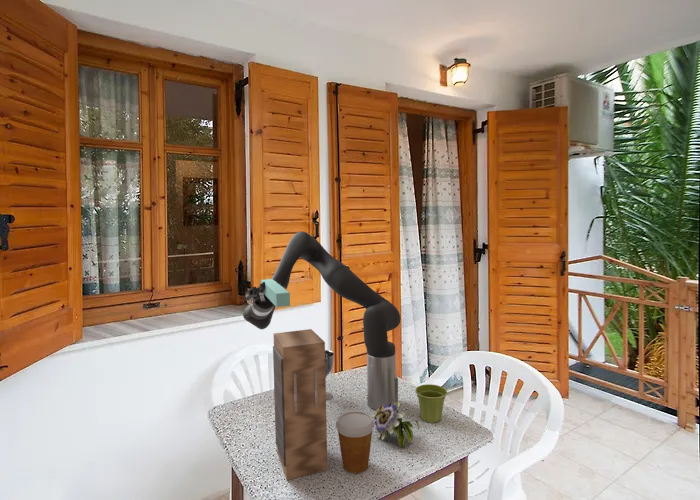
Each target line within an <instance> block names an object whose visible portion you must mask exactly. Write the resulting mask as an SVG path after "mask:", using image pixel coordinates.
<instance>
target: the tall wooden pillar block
mask: <svg viewBox="0 0 700 500" xmlns="http://www.w3.org/2000/svg"><path fill="white" fill-rule="evenodd" d="M325 350H326V342H325V340H323V338H321V337H320V336H319V335H318V333H316V332H315V331H314V330H313V329H312V328H308V329H300V330H291V331H284V332H282V331H281V332H275V333H273V346H272V360H273V361H272V362H273V363H272V364H273V365H272V366H273V390H274V391H273V394H274V395H273V397H274V423H275V424H274V426H275V427H274V428H275V445H276V453H277V456H278V459H279V462H280V465H281V467H282V472H283V473H284V476H285V478H286V480H287V481H290V480H293V479H298V478H301V477H305V476H309V475H313V474H317V473H321V472H325V471H328V437H327V436H328V434H327V433H328V432H327V431H328V429H327V427H328V426H327V401H326V392H327V385H326V383H327V382H326V379H327V377H326V373H325Z"/></svg>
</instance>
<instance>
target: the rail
mask: <svg viewBox="0 0 700 500" xmlns="http://www.w3.org/2000/svg"><path fill="white" fill-rule="evenodd" d="M262 282H265V291H264V292H263V293H264V294H265V295H266V297H267V298H268V299H269V300H270V301H271V302H272V303H273V304H274V305H275V306H276V307H275V308H282V307H283V308H284V307H291V293H290V291H288V289H287V290H286V289H284V288H283V287H282V286H281V285H279V284H278V283H277V282H275V281H274V280H273V279H271V278H269V279H268V278H267V279H260V284H262Z"/></svg>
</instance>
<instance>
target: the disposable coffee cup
mask: <svg viewBox="0 0 700 500" xmlns="http://www.w3.org/2000/svg"><path fill="white" fill-rule="evenodd" d="M335 428H336V431H337V434H338V441H339V449H340V456H341V461H342V469H344V471H346V472H347V473H350V474H355V475H356V474H361V473H363V472H365V471H366V470H368V468H369V462H370V453H371V444H372V437H373V430H374V428H375V421H374V420H373V417H372V416H371V415H370V414H369V413H367V412H365V411H361V410H352V411H351V410H350V411H349V410H348V411H346V412H343V413H341V414H340V415H339V416H338V417H337V419H336V422H335Z"/></svg>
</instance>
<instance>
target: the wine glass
mask: <svg viewBox="0 0 700 500" xmlns="http://www.w3.org/2000/svg"><path fill="white" fill-rule="evenodd" d="M334 353H335V352H333V351H332V350H328V349H327V350H326V349H325V373H326V378H327V377H328V376H329V375H330V374H331V372H332V370H333V367H334V364H335V363H334V361H335V355H334ZM333 398H334V394H333V393H331V392H330V391H329V392H328V391H326V402H327V401H331V400H332V399H333Z"/></svg>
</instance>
